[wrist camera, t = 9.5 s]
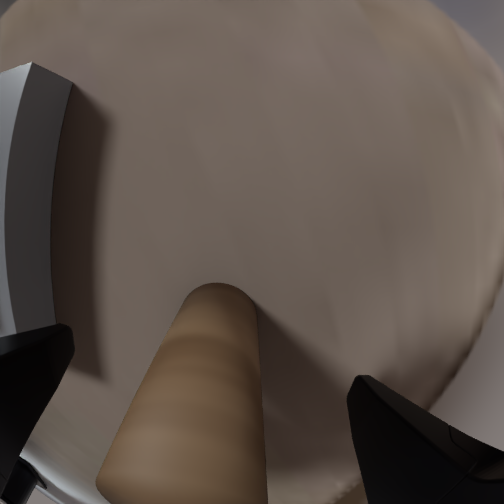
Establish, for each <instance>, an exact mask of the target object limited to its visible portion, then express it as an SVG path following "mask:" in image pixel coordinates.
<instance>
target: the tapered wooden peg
mask: <svg viewBox="0 0 504 504" xmlns="http://www.w3.org/2000/svg"><path fill="white" fill-rule="evenodd" d="M96 486H97V489H98V490H99V492H100V493H101V495H102V496H103V497H104V498H105V499H106V500H107V501H109V502H110V503H111V504H268V494H267V476H266V459H265V442H264V425H263V408H262V390H261V374H260V357H259V340H258V323H257V313H256V309H255V306H254V304H253V302H252V301H251V299H250V298H249V297H248V296H247V295H246V294H245V293H244V292H243V291H241V290H240V289H238V288H236V287H234V286H232V285H229V284H224V283H209V284H205V285H202V286H200V287H198V288H196V289H194V290H193V291H192V292H191V293H190V294H189V295H188V296H187V298H186V299H185V301H184V303H183V304H182V306H181V308H180V310H179V312H178V314H177V315H176V317H175V319H174V321H173V323H172V325H171V327H170V329H169V330H168V332H167V334H166V336H165V338H164V340H163V342H162V344H161V346H160V348H159V349H158V351H157V353H156V355H155V357H154V359H153V361H152V363H151V365H150V367H149V369H148V371H147V373H146V375H145V377H144V379H143V381H142V383H141V385H140V387H139V389H138V391H137V393H136V395H135V397H134V399H133V401H132V403H131V405H130V407H129V409H128V411H127V413H126V415H125V417H124V419H123V421H122V424H121V426H120V428H119V430H118V432H117V434H116V436H115V438H114V441H113V443H112V445H111V447H110V449H109V451H108V454H107V456H106V458H105V460H104V462H103V465H102V467H101V469H100V471H99V474H98V476H97V478H96Z"/></svg>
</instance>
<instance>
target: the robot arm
mask: <svg viewBox="0 0 504 504" xmlns="http://www.w3.org/2000/svg"><path fill="white" fill-rule="evenodd" d="M74 352H75V346H74V340H73V333H72V329H71V327H70V326H67V325H64V324H61V323H59V324H55V325H50V326H46V327H42V328H38V329H34V330H29V331H25V332H21V333H16V334H12V335H8V336H3V337H0V501H1V502H3V503H4V504H26V503H27V501H28V499H29V497H30V495H31V493H32V491H33V489H34V488H35V486H36V485H38V486H40V487H41V488H43V489H45V490H46V489H47V487H46V486H45V484H44V483H43V482H42V480H41V479H40V478H39V477H38V475H37V474H36V473H35V471H34V470H33V468H32V467H31V466H30V465H29V464H28V463H27V462H26V461H24V460H22V459H21V458H19V455H20V453H21V451H22V449H23V447H24V445H25V444H26V442H27V440H28V438H29V436H30V434H31V432H32V431H33V429H34V427H35V425H36V423H37V422H38V420H39V418H40V416H41V415H42V413H43V411H44V410H45V408H46V406H47V405H48V403H49V401H50V400H51V398H52V396H53V395H54V393H55V391H56V389H57V388H58V386H59V384H60V382H61V380H62V378H63V375H64V373H65V371H66V369H67V367H68V365H69V363H70V361H71V359H72V357H73V355H74ZM347 407H348V413H349V420H350V427H351V434H352V439H353V444H354V448H355V452H356V455H357V459H358V463H359V467H360V471H361V475H362V479H363V483H364V487H365V492H366V496H367V500H368V504H504V451H501V450H499V449H497V448H494V447H492V446H490V445H488V444H485V443H483V442H481V441H479V440H477V439H475V438H473V437H470V436H468V435H466V434H465V433H463V432H461V431H459V430H458V429H456V428H454V427H452V426H451V425H448V424H447V423H446V422H444V421H442V420H440V419H439V418H437V417H435V416H434V415H432V414H430V413H429V412H427V411H425V410H424V409H422V408H421V407H419V406H417V405H416V404H414V403H412V402H411V401H409V400H408V399H406V398H404V397H403V396H401V395H400V394H398V393H396V392H395V391H393V390H392V389H390V388H388V387H387V386H385V385H384V384H382V383H381V382H379V381H378V380H376V379H374V378H373V377H371V376H370V375H358V376H356V377H355V379H354V381H353V384H352V386H351V388H350V390H349V392H348V395H347Z"/></svg>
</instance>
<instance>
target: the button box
mask: <svg viewBox="0 0 504 504" xmlns="http://www.w3.org/2000/svg"><path fill="white" fill-rule="evenodd" d="M72 83H73V82H71V81H69V80H68V79H66V78H64V77H62V76H60V75H58V74H56V73H54V72H51V71H49V70H47V69H45V68H43V67H41V66H39V65H37V64H35V63H33V62H31V63H28V64H25V65H22V66H19V67H16V68H13V69H10V70H7V71H5V72H2V73H0V337H3V336H8V335H12V334H16V333H21V332H25V331H29V330H34V329H38V328H42V327H46V326H50V325H55V324H56V319H55V311H54V302H53V292H52V279H51V258H50V224H51V203H52V190H53V179H54V171H55V163H56V156H57V149H58V143H59V138H60V133H61V127H62V123H63V118H64V114H65V109H66V105H67V101H68V97H69V94H70V90H71V87H72Z"/></svg>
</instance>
